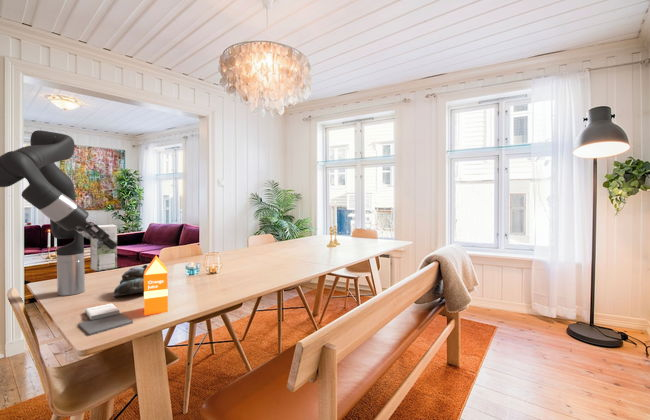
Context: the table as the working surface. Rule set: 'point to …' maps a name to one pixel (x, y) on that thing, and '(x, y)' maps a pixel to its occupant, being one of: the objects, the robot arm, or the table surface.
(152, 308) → the orange juice
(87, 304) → the table surface
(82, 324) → the charcoal mat
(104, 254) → the syrup box
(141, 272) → the lucky cat figurine
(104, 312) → the external hard drive
